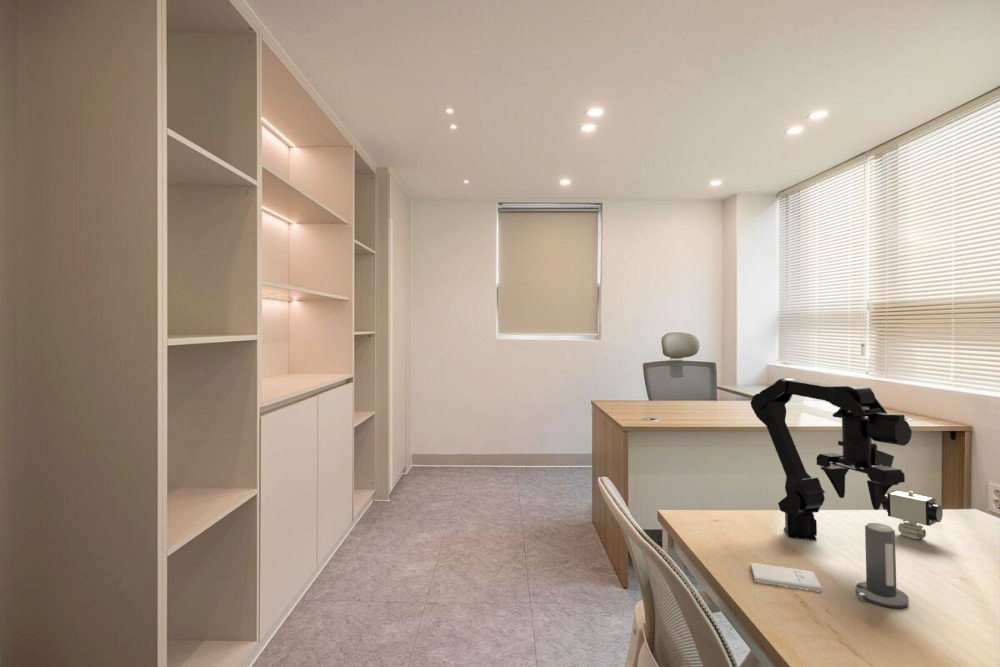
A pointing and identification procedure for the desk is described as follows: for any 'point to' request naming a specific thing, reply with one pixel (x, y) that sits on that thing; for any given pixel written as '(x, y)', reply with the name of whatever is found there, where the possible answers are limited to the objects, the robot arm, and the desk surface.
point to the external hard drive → (785, 577)
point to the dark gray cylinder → (880, 560)
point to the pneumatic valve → (912, 512)
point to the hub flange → (888, 602)
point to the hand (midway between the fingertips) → (858, 503)
